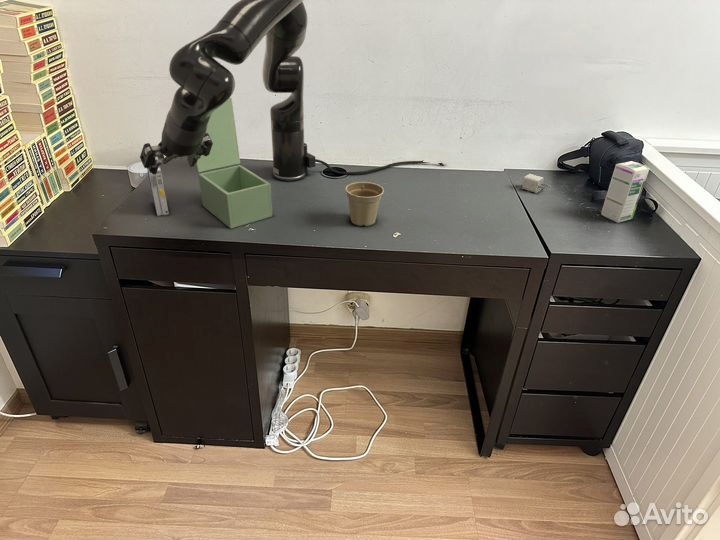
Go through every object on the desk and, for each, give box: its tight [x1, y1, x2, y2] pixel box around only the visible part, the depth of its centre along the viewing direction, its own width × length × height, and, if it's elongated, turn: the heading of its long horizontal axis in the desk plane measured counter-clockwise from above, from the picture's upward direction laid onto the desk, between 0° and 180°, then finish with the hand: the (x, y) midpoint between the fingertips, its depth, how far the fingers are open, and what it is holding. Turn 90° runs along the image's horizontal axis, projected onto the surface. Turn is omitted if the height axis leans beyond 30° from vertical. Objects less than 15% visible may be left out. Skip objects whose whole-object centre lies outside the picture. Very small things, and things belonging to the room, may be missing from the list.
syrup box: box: [600, 160, 651, 224], centre depth 130 cm, size 6×6×14 cm
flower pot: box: [344, 181, 385, 227], centre depth 124 cm, size 9×9×9 cm
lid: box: [195, 97, 241, 173], centre depth 127 cm, size 16×12×6 cm
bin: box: [197, 164, 273, 229], centre depth 126 cm, size 16×12×9 cm
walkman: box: [146, 159, 170, 216], centre depth 125 cm, size 8×3×12 cm, turn 25°
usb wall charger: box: [521, 173, 551, 194], centre depth 146 cm, size 4×7×4 cm, turn 49°
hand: (171, 166), depth 112 cm, fingers open, 8 cm apart
